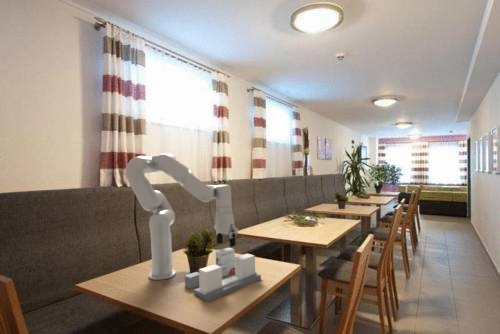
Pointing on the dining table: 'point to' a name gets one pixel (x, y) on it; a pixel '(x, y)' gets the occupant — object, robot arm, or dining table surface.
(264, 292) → the dining table surface
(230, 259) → the ink box
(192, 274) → the block
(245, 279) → the rail panel
